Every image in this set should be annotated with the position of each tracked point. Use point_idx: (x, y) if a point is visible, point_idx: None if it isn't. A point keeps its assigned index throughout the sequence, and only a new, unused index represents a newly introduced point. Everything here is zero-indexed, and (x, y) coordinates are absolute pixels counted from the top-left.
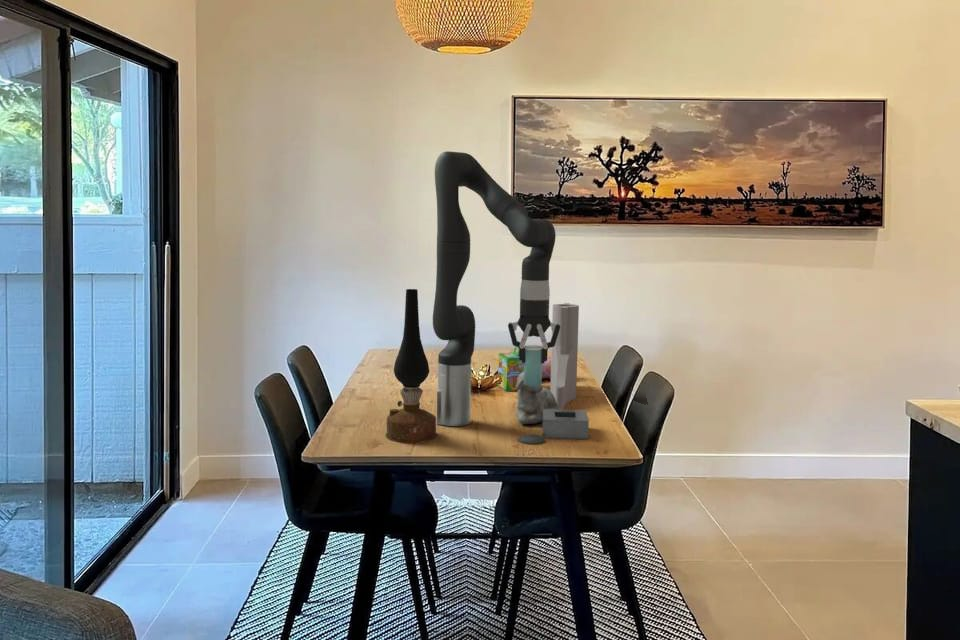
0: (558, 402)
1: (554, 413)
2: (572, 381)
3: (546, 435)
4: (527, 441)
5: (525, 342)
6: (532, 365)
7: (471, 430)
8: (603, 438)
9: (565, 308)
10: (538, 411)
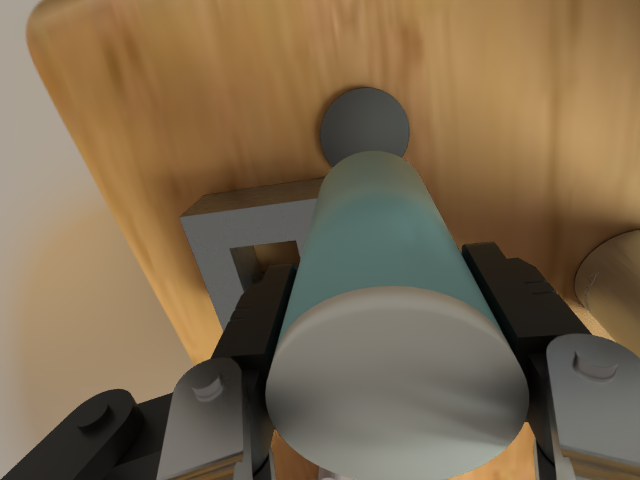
0: None
1: None
2: None
3: (321, 179)
4: (372, 90)
5: (558, 431)
6: (374, 200)
7: (573, 203)
8: (167, 214)
9: None
10: None
